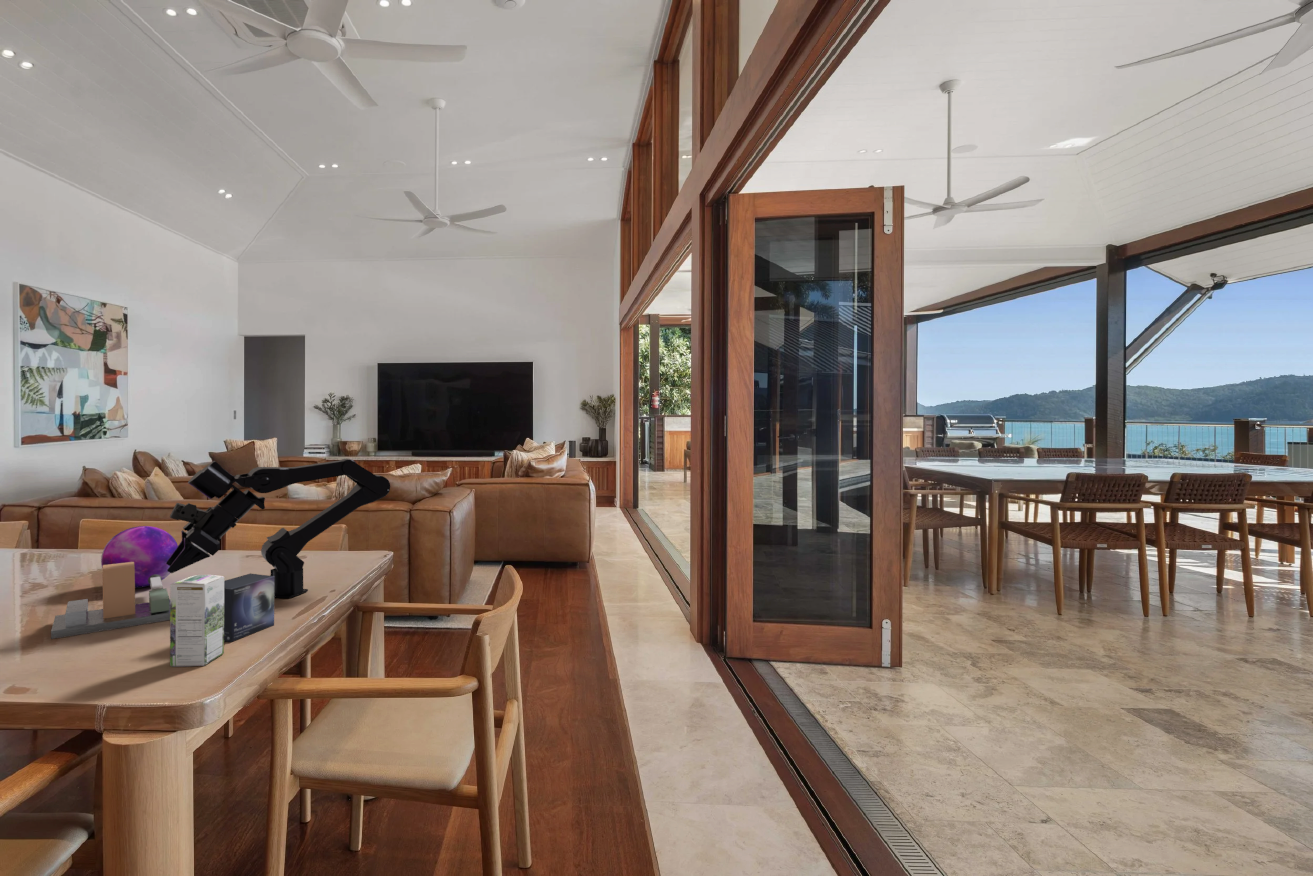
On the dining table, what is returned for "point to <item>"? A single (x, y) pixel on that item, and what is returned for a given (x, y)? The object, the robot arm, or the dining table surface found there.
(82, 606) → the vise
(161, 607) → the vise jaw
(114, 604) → the tan rectangular block
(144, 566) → the decorative orb
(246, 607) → the small box
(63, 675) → the dining table surface
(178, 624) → the syrup box
